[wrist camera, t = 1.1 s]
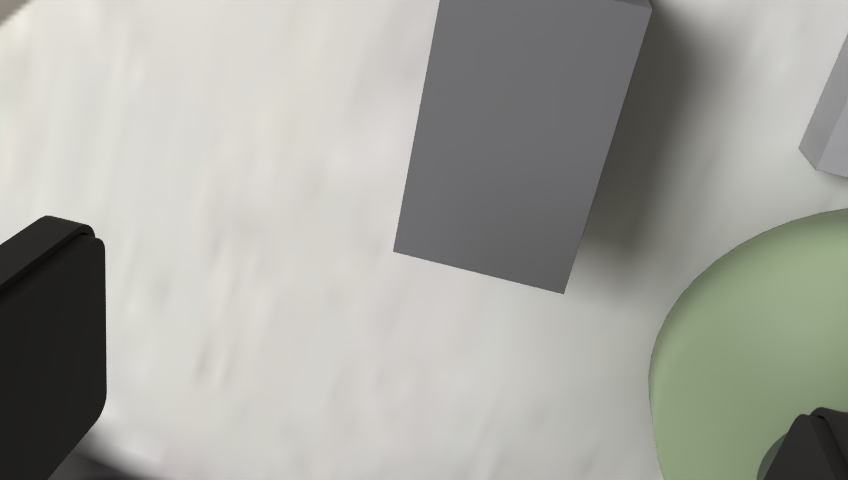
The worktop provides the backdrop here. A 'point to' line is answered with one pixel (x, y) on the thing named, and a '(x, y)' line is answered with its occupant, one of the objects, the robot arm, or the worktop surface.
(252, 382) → the worktop surface
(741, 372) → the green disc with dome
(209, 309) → the worktop surface
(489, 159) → the grey sliding block
